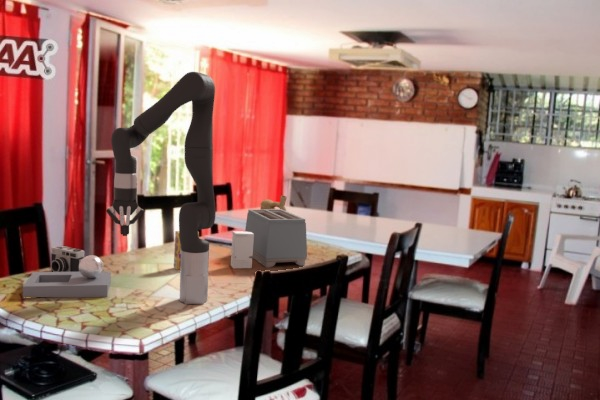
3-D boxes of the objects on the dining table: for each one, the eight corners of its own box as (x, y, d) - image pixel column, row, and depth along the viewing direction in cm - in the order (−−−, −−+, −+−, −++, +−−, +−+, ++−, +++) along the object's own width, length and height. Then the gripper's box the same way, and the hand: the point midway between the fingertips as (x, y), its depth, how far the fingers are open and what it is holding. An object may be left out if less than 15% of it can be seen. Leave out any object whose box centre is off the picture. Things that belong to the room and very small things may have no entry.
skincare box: (232, 269, 240) (234, 233, 238) (230, 265, 246) (231, 230, 244) (252, 268, 243) (254, 233, 241) (249, 265, 248) (251, 230, 246)
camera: (41, 272, 220) (42, 246, 219) (63, 269, 227) (64, 243, 226) (64, 279, 212) (65, 252, 211) (85, 275, 220) (86, 249, 219)
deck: (107, 296, 195) (107, 285, 194) (22, 298, 188) (22, 286, 188) (110, 281, 212) (110, 271, 212) (33, 283, 206) (33, 272, 205)
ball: (102, 281, 199) (102, 258, 198) (77, 281, 197) (77, 258, 196) (104, 274, 206) (104, 252, 205) (80, 275, 204) (80, 252, 203)
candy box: (177, 270, 233) (178, 232, 231) (173, 267, 237) (174, 230, 235) (198, 268, 238) (199, 231, 236) (193, 265, 242) (195, 229, 240)
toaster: (277, 248, 283) (279, 207, 281) (307, 266, 252) (309, 219, 249) (240, 250, 276) (242, 207, 273) (265, 268, 244) (267, 220, 242)
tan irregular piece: (273, 237, 310) (275, 191, 307) (296, 244, 295) (299, 195, 292) (246, 240, 299) (249, 192, 296) (269, 247, 284) (272, 197, 281)
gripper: (104, 186, 195) (104, 237, 197) (145, 187, 198) (144, 237, 200) (106, 184, 202) (105, 233, 204) (145, 185, 205) (144, 233, 208)
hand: (124, 235), depth 202 cm, fingers closed
